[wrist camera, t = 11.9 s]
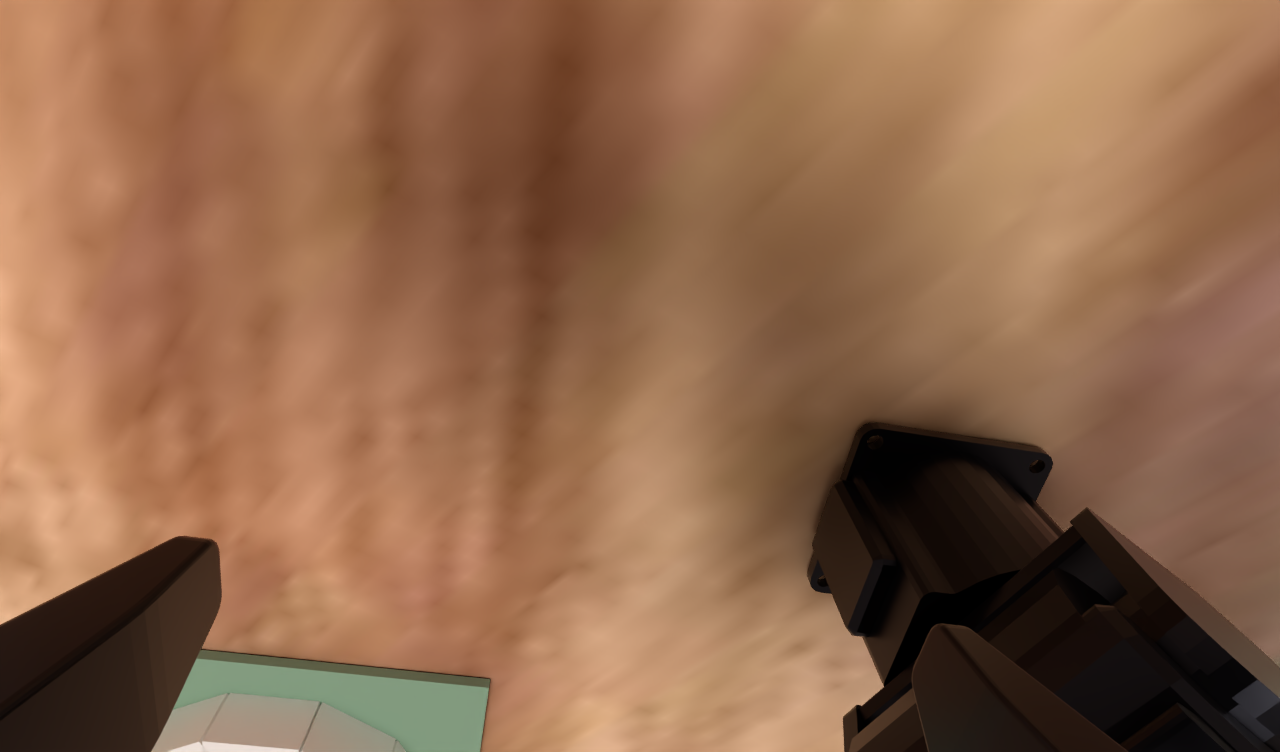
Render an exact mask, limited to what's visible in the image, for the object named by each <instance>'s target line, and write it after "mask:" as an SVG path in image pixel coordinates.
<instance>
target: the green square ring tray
mask: <svg viewBox="0 0 1280 752" xmlns="http://www.w3.org/2000/svg"><path fill="white" fill-rule="evenodd" d="M489 685H490V679H484V678H474V677H464V676H454V675H444V674H435V673H425V672H415V671H405V670H395V669H385V668H376V667H366V666H356V665H346V664H336V663H326V662H317V661H307V660H297V659H287V658H277V657H267V656H258V655H248V654H238V653H228V652H218V651H208V650H200V652H199V655H198V657H197V659H196V661H195V663H194V665H193V668H192V670H191V672H190V674H189V676H188V678H187V680H186V683H185V685H184V687H183V689H182V691H181V693H180V695H179V698H178V700H177V702H176V704H175V706H174V708H173V711H172V713H171V715H170V717H169V719H168V721H167V723H166V725H165V727H164V729H163V731H162V733H161V735H160V737H159V739H158V741H157V742H156V744H155V746H154V748H153V749H152V751H151V752H480V749H481V742H482V735H483V728H484V721H485V713H486V706H487V699H488V692H489Z"/></svg>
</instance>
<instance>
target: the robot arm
mask: <svg viewBox="0 0 1280 752" xmlns="http://www.w3.org/2000/svg"><path fill="white" fill-rule="evenodd" d="M876 435H878V436H879V438H878V439H877V441H875V442H873V443H867V441H868V440H869V438H871V437H872V436H876ZM1036 460H1038V462H1037V463H1036V464H1035V465H1033V466H1032V467H1030V465H1031V463H1032V462H1034V461H1036ZM1052 465H1053V461H1052V458H1051V457H1050V456H1049V455H1048V454H1047V453H1046V452H1045V451H1044V450H1043V449H1041V448H1038V447H1034V446H1028V445H1021V444H1014V443H1008V442H1001V441H995V440H988V439H981V438H975V437H968V436H962V435H955V434H949V433H942V432H935V431H929V430H922V429H916V428H909V427H902V426H896V425H889V424H883V423H868V424H865V425H863V426H862V427H861V428H860V429H859V430H858V432H857V433H856V436H855V439H854V441H853V444H852V447H851V450H850V453H849V456H848V458H847V461H846V464H845V467H844V470H843V473H842V476H841V478H840V480H838V481H837V482H836V483H834V484H833V485H832V488H831V491H830V494H829V496H828V499H827V502H826V505H825V508H824V511H823V514H822V517H821V519H820V522H819V525H818V528H817V531H816V534H815V537H814V540H813V543H812V546H813V549H814V551H815V552H814V555H813V558H812V561H811V564H810V566H809V569H808V574H807V577H808V579H809V582H810V584H811V587H812V588H813V589H814V590H815V591H818V592H822V593H830V594H832V595H833V597H834V600H835V602H836V605H837V607H838V610H839V612H840V614H841V617H842V619H843V622H844V624H845V627H846V628H847V629H848V631H849V632H850V633H851V635H852V636H861V637H863V639H864V642H865V644H866V646H867V649H868V651H869V653H870V655H871V658H872V660H873V662H874V665H875V667H876V669H877V672H878V674H879V676H880V679H881V681H882V683H883V685H884V687H883V688H882V689H881V690H880V691H879V692H878V693H876V694H875V695H874V696H873V697H872V698H871V699H869V700H868V701H867V702H866V703H865V704H864V705H862V706H860V705H856V706H855V707H854V708H853V709H852V710H850V711H849V712H848V713H847V714H846V715H845V716H844V717H843V729H844V752H1280V668H1279V667H1278V666H1277V665H1276V664H1275V663H1274V662H1273V661H1272V660H1271V659H1270V658H1269V657H1268V656H1267V655H1266V654H1265V653H1264V652H1263V651H1261V650H1260V649H1259V648H1258V647H1257V646H1256V645H1255V644H1254V643H1253V642H1251V641H1250V640H1249V639H1248V638H1247V637H1246V636H1245V635H1244V634H1242V633H1241V632H1240V631H1239V630H1238V629H1237V628H1236V627H1235V626H1234V625H1232V624H1231V623H1230V622H1229V621H1228V620H1227V619H1226V618H1225V617H1224V616H1222V615H1221V614H1220V613H1219V612H1218V611H1217V610H1216V609H1215V608H1214V607H1212V606H1211V605H1210V604H1209V603H1208V602H1207V601H1206V600H1205V599H1203V598H1202V597H1201V596H1200V595H1199V594H1198V593H1197V592H1195V591H1194V590H1193V589H1192V588H1190V587H1189V586H1188V585H1187V584H1185V583H1184V582H1183V581H1181V580H1180V579H1179V578H1178V577H1176V576H1175V575H1174V574H1172V573H1171V572H1170V571H1169V570H1167V569H1166V568H1165V567H1163V566H1162V565H1161V564H1160V563H1158V562H1157V561H1156V560H1154V559H1153V558H1152V557H1151V556H1149V555H1148V554H1147V553H1145V552H1144V551H1143V550H1142V549H1140V548H1139V547H1138V546H1136V545H1135V544H1134V543H1133V542H1131V541H1130V540H1129V539H1127V538H1126V537H1125V536H1124V535H1122V534H1121V533H1120V532H1118V531H1117V530H1116V529H1115V528H1113V527H1112V526H1111V525H1109V524H1108V523H1107V522H1106V521H1104V520H1103V519H1102V518H1100V517H1099V516H1098V515H1096V514H1095V513H1094V512H1093V511H1091V510H1090V509H1089V508H1085V509H1084V510H1083V511H1082V512H1081V513H1080V514H1078V515H1077V516H1076V517H1075V518H1074V519H1073V520H1071V521H1070V523H1071V524H1072V525H1073V526H1071V527H1070V528H1069V529H1068V530H1067V531H1066V532H1063V530H1062V529H1061V528H1060V527H1059V526H1058V525H1057V524H1056V523H1055V522H1054V521H1053V520H1052V519H1051V518H1050V517H1049V516H1048V514H1047V513H1046V512H1045V511H1044V510H1043V509H1042V508H1041V507H1040V506H1039V505H1038V504H1037V503H1036V500H1037V498H1038V496H1039V494H1040V491H1041V489H1042V487H1043V485H1044V483H1045V481H1046V479H1047V477H1048V475H1049V473H1050V471H1051V469H1052ZM823 575H824V576H825V578H824V579H819V577H821V576H823ZM221 597H222V589H221V573H220V556H219V548H218V545H217V543H216V542H215V541H213V540H212V539H207V538H198V537H189V536H178V537H175V538H172V539H170V540H168V541H166V542H164V543H162V544H160V545H158V546H156V547H154V548H152V549H150V550H148V551H146V552H144V553H142V554H140V555H138V556H136V557H134V558H132V559H130V560H128V561H126V562H124V563H122V564H120V565H118V566H116V567H114V568H112V569H110V570H108V571H106V572H104V573H102V574H100V575H98V576H96V577H94V578H92V579H90V580H88V581H86V582H85V583H83V584H81V585H79V586H77V587H75V588H73V589H71V590H69V591H67V592H65V593H63V594H61V595H59V596H57V597H55V598H53V599H51V600H49V601H47V602H45V603H43V604H41V605H39V606H37V607H35V608H33V609H31V610H29V611H27V612H25V613H23V614H21V615H19V616H17V617H15V618H13V619H11V620H9V621H7V622H5V623H3V624H1V625H0V752H151V751H152V749H153V748H154V746H155V744H156V742H157V741H158V739H159V737H160V735H161V733H162V731H163V729H164V727H165V725H166V723H167V721H168V719H169V717H170V715H171V713H172V711H173V708H174V706H175V704H176V702H177V700H178V698H179V695H180V693H181V691H182V689H183V687H184V685H185V683H186V680H187V678H188V676H189V674H190V672H191V670H192V668H193V665H194V663H195V661H196V659H197V657H198V655H199V652H200V650H201V648H202V646H203V644H204V642H205V640H206V637H207V635H208V633H209V631H210V629H211V627H212V625H213V622H214V620H215V618H216V616H217V613H218V611H219V607H220V603H221Z"/></svg>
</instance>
